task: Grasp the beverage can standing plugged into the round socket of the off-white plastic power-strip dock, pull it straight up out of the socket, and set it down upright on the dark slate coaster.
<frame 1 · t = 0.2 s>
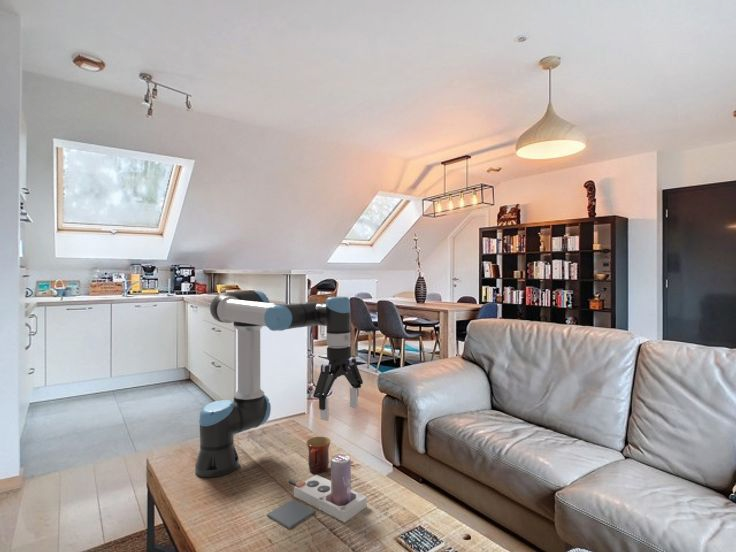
hand: (339, 413, 128), 27 cm above the table, fingers open, 13 cm apart
coaster: (291, 514, 121), on the table
beverage can: (341, 507, 124), resting in strip dock
mug: (317, 471, 147), on the table
strip dock: (329, 501, 128), on the table
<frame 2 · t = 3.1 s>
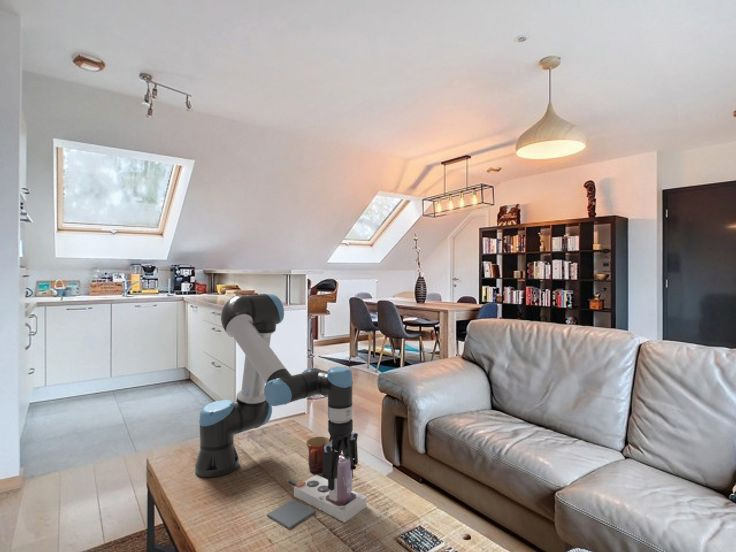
hand: (341, 494, 124), 4 cm above the table, fingers closed on beverage can, 6 cm apart
beverage can: (341, 507, 124), resting in strip dock, touching gripper
everything else where it was.
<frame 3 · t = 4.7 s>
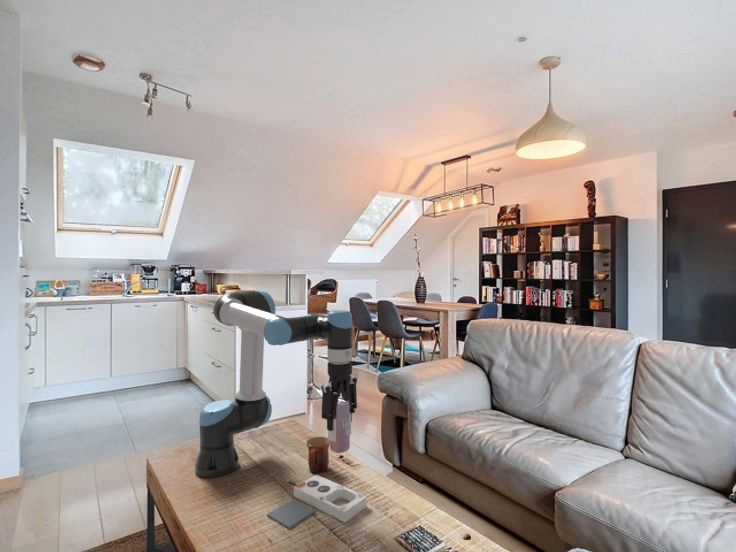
hand: (339, 436, 124), 21 cm above the table, fingers closed on beverage can, 6 cm apart
beverage can: (339, 450, 125), point 17 cm above the table, touching gripper
everything else where it was.
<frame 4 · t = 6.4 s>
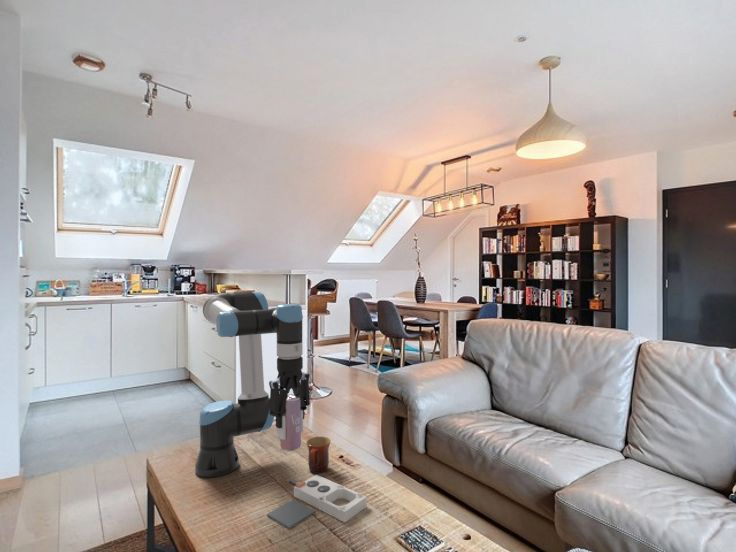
hand: (290, 434, 121), 24 cm above the table, fingers closed on beverage can, 6 cm apart
beverage can: (290, 448, 121), point 20 cm above the table, touching gripper
everything else where it was.
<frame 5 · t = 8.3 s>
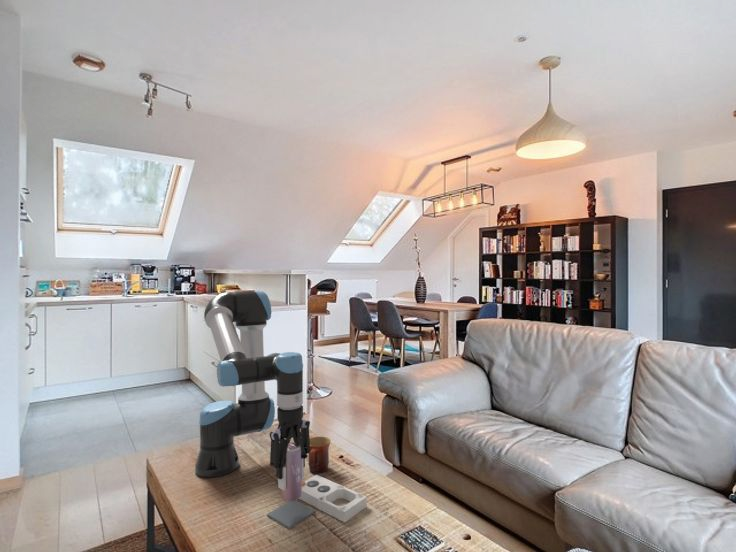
hand: (291, 483, 121), 9 cm above the table, fingers closed on beverage can, 6 cm apart
beverage can: (291, 497, 121), point 5 cm above the table, touching gripper
everything else where it was.
when the fingers open (6 cm above the table, at t = 9.7 s): beverage can drops 1 cm, resting on coaster.
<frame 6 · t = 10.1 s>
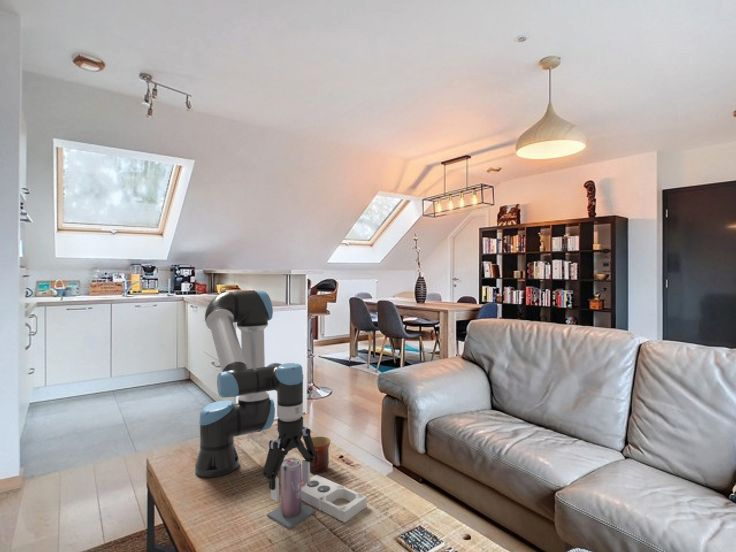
hand: (291, 490, 121), 7 cm above the table, fingers open, 11 cm apart
beverage can: (291, 512, 121), resting on coaster
everything else where it was.
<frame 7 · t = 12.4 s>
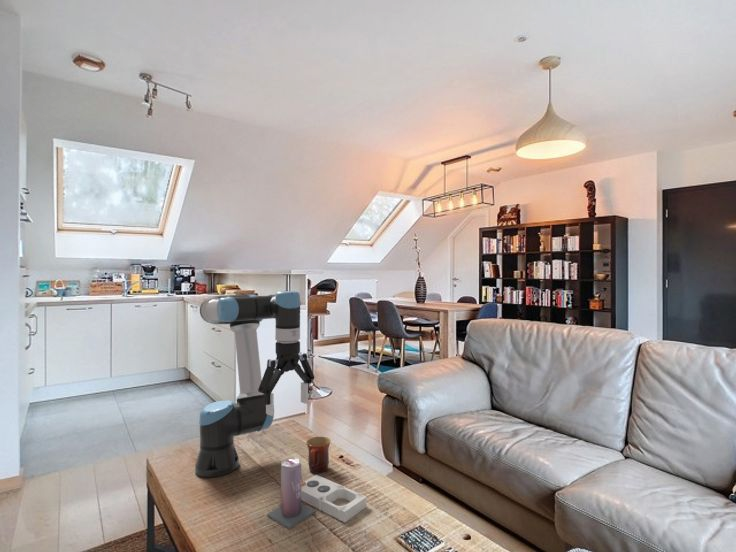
hand: (287, 408, 127), 29 cm above the table, fingers open, 13 cm apart
nothing on the table moved.
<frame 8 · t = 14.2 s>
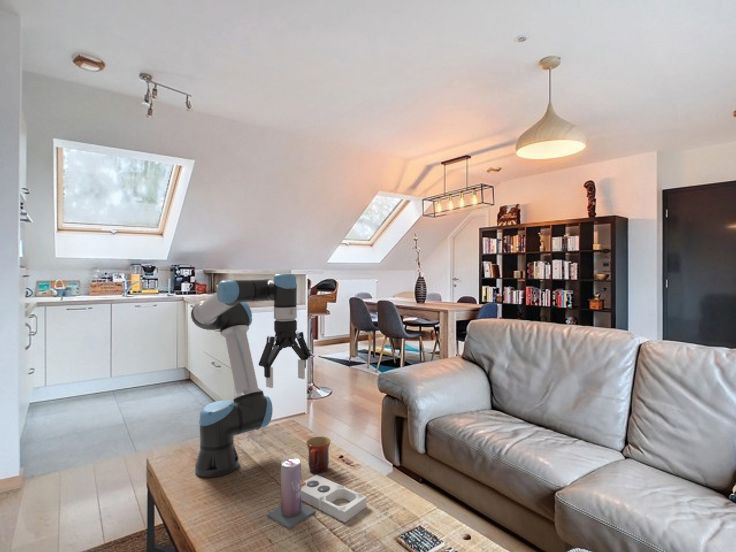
hand: (286, 382, 137), 35 cm above the table, fingers open, 13 cm apart
nothing on the table moved.
at the end: beverage can inside the target area on the coaster (0.0 cm from its centre), point 0.4 cm above the coaster's base; beverage can tilted 0°; the gripper is holding nothing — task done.
